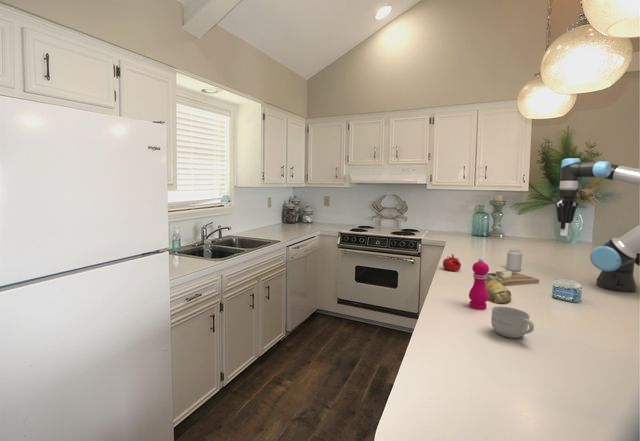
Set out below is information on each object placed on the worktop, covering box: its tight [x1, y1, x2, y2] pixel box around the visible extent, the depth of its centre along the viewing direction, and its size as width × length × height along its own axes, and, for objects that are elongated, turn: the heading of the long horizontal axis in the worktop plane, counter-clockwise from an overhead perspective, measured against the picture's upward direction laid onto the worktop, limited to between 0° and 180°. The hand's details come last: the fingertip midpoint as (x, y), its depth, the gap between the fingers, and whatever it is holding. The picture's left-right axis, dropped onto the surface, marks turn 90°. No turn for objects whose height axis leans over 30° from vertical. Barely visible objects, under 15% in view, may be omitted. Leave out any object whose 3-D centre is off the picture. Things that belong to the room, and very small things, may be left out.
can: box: [506, 249, 523, 272], centre depth 200 cm, size 8×8×12 cm
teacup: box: [490, 305, 535, 339], centre depth 110 cm, size 14×11×8 cm
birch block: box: [495, 269, 513, 281], centre depth 172 cm, size 5×5×4 cm
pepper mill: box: [468, 257, 490, 311], centre depth 136 cm, size 7×7×20 cm
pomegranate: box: [442, 254, 462, 272], centre depth 197 cm, size 10×10×9 cm
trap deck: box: [485, 271, 540, 287], centre depth 178 cm, size 16×25×4 cm, turn 107°
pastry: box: [485, 280, 512, 304], centre depth 148 cm, size 14×12×8 cm
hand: (563, 235), depth 176 cm, fingers closed
